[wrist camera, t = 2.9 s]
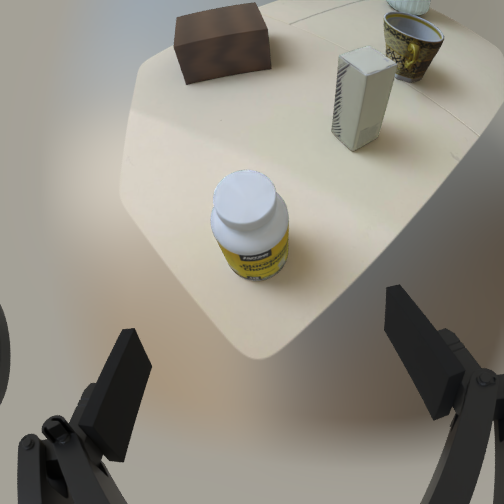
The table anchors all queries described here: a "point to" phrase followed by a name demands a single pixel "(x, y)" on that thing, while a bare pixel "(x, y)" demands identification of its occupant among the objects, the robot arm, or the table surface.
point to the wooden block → (222, 42)
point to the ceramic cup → (410, 44)
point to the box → (361, 95)
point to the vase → (410, 6)
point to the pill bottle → (250, 224)
